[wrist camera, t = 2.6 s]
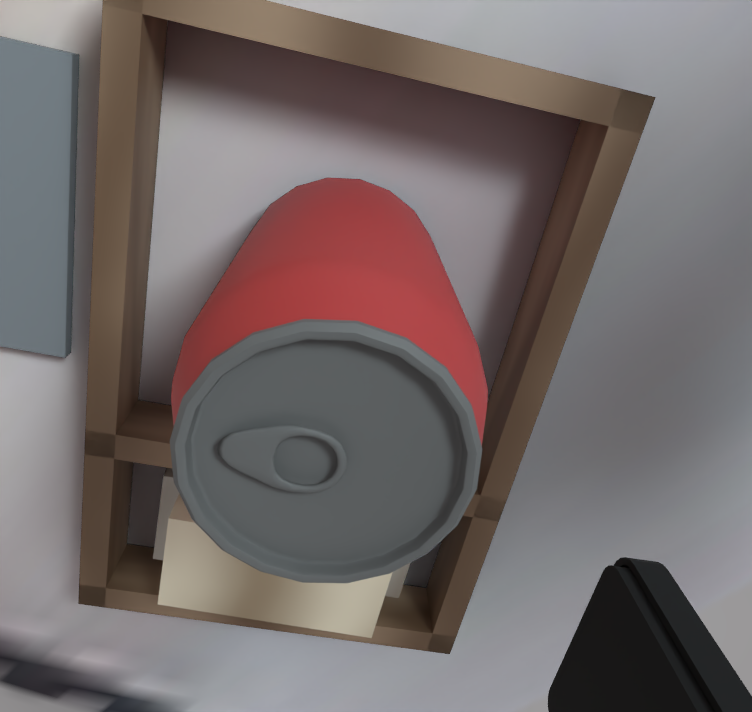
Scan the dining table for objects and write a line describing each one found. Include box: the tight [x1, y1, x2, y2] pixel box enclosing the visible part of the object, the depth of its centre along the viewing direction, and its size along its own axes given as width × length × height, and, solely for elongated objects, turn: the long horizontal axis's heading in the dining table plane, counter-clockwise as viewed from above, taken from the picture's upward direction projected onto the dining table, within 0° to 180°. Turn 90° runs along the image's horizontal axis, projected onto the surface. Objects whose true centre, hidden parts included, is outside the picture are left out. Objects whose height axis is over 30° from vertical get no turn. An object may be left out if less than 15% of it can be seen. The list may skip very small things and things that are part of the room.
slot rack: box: [78, 0, 655, 654], centre depth 23 cm, size 15×22×2 cm
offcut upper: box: [158, 494, 393, 638], centre depth 24 cm, size 8×4×2 cm, turn 77°
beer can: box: [170, 178, 488, 583], centre depth 17 cm, size 7×7×12 cm
